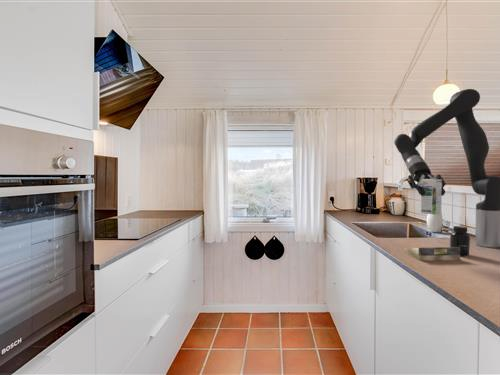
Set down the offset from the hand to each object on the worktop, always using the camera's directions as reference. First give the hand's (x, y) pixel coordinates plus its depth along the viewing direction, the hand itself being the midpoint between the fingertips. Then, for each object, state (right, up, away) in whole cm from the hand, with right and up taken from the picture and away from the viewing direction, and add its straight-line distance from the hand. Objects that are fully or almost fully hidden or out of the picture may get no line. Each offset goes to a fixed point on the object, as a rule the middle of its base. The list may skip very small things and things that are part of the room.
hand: (433, 194), depth 118 cm
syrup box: (0, -8, +2) cm, 8 cm away
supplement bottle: (+14, -26, +4) cm, 30 cm away
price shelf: (0, -26, +2) cm, 26 cm away
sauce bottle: (+33, -24, +50) cm, 64 cm away
